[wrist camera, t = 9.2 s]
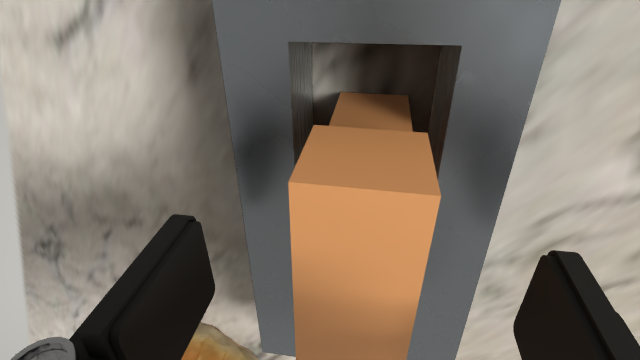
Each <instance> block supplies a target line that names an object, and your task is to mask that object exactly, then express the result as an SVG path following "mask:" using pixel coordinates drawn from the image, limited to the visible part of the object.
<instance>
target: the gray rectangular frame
mask: <svg viewBox="0 0 640 360" xmlns="http://www.w3.org/2000/svg"><path fill="white" fill-rule="evenodd" d="M560 2H561V0H212V5H213V12H214V19H215V26H216V33H217V40H218V47H219V53H220V60H221V67H222V74H223V81H224V88H225V95H226V102H227V109H228V116H229V123H230V130H231V137H232V143H233V150H234V157H235V164H236V171H237V178H238V185H239V192H240V199H241V206H242V213H243V220H244V227H245V233H246V240H247V247H248V254H249V261H250V268H251V275H252V282H253V289H254V296H255V303H256V310H257V317H258V324H259V330H260V337H261V344H262V351H263V352H266V353H273V354H280V355H287V356H294V357H296V350H295V327H294V303H293V280H292V257H291V233H290V210H289V186H288V182H289V179H290V177H291V175H292V173H293V170H294V168H295V166H296V164H297V162H298V159H299V157H300V155H301V153H302V150H303V148H304V146H305V144H306V141H307V139H308V137H309V135H310V132H311V130H312V128H313V85H312V42H327V43H371V44H416V45H441V51H440V58H439V64H438V71H437V77H436V84H435V90H434V97H433V103H432V110H431V117H430V123H429V130H428V137H429V142H430V146H431V151H432V156H433V160H434V165H435V170H436V174H437V179H438V184H439V188H440V193H441V199H440V204H439V208H438V213H437V218H436V223H435V227H434V232H433V237H432V241H431V246H430V251H429V255H428V260H427V265H426V269H425V274H424V279H423V284H422V288H421V293H420V298H419V302H418V307H417V312H416V316H415V321H414V326H413V330H412V335H411V340H410V345H409V349H408V354H407V359H406V360H455V358H456V355H457V351H458V348H459V345H460V341H461V338H462V334H463V331H464V328H465V324H466V321H467V317H468V314H469V311H470V307H471V304H472V301H473V297H474V294H475V290H476V287H477V284H478V280H479V277H480V273H481V270H482V267H483V263H484V260H485V256H486V253H487V250H488V246H489V243H490V240H491V236H492V233H493V229H494V226H495V223H496V219H497V216H498V212H499V209H500V206H501V202H502V199H503V196H504V192H505V189H506V185H507V182H508V179H509V175H510V172H511V168H512V165H513V162H514V158H515V155H516V151H517V148H518V145H519V141H520V138H521V135H522V131H523V128H524V124H525V121H526V118H527V114H528V111H529V107H530V104H531V101H532V97H533V94H534V90H535V87H536V84H537V80H538V77H539V74H540V70H541V67H542V63H543V60H544V57H545V53H546V50H547V46H548V43H549V40H550V36H551V33H552V29H553V26H554V23H555V19H556V16H557V13H558V9H559V6H560Z"/></svg>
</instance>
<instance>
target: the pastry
mask: <svg viewBox="0 0 640 360" xmlns="http://www.w3.org/2000/svg"><path fill="white" fill-rule="evenodd" d="M181 360H258V358H257V357H256V356H255V355H254V354H253V353H252V352H251V351H250V350H249V349H247V348H245V347H243V346H241V345H239V344H237V343H236V342H234V341H233V340H232V339H231V338H229V337H227V336H226V335H224V334H223V333H222V332H221V331H220V330H219V329H217V328H216V327H214V326H212V325H206V324H203V323H201V322H200V324H199V326H198V328H197V329H196V331H195V333H194V335H193V337H192V339H191V341H190V343H189V345H188V347H187V349H186V351H185V353H184V355H183V357H182V359H181Z"/></svg>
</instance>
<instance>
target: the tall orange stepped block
mask: <svg viewBox="0 0 640 360" xmlns="http://www.w3.org/2000/svg"><path fill="white" fill-rule="evenodd" d="M288 186H289V210H290V233H291V257H292V280H293V303H294V327H295V350H296V360H406V359H407V354H408V349H409V345H410V340H411V335H412V330H413V326H414V321H415V316H416V312H417V307H418V302H419V298H420V293H421V288H422V284H423V279H424V274H425V269H426V265H427V260H428V255H429V251H430V246H431V241H432V237H433V232H434V227H435V223H436V218H437V213H438V208H439V204H440V199H441V193H440V188H439V184H438V179H437V174H436V170H435V165H434V160H433V156H432V151H431V146H430V142H429V137H428V133H423V132H413V130H412V122H411V114H410V107H409V99H408V96H404V95H387V94H370V93H353V92H341V93H340V96H339V99H338V101H337V104H336V107H335V110H334V112H333V115H332V118H331V121H330V124H329V126H323V125H314V126H313V128H312V130H311V132H310V135H309V137H308V139H307V141H306V144H305V146H304V148H303V150H302V153H301V155H300V157H299V159H298V162H297V164H296V166H295V168H294V170H293V173H292V175H291V177H290V179H289V182H288Z"/></svg>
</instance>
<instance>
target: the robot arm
mask: <svg viewBox="0 0 640 360" xmlns="http://www.w3.org/2000/svg"><path fill="white" fill-rule="evenodd" d="M214 292H215V283H214V279H213V274H212V270H211V266H210V261H209V257H208V252H207V248H206V244H205V239H204V235H203V231H202V226H201V223H200V222H198V221H196V219H195V218H194V217H193V216H187V215H176V214H174V215H172V216H171V217H170V218H169V219H168V220H167V221H166V223H165V224H164V225H163V226H162V228H161V229H160V230H159V231H158V232H157V234H156V235H155V236H154V237H153V238H152V240H151V241H150V242H149V243H148V245H147V246H146V247H145V248H144V249H143V251H142V252H141V253H140V254H139V255H138V257H137V258H136V259H135V260H134V261H133V263H132V264H131V265H130V266H129V268H128V269H127V270H126V271H125V272H124V274H123V275H122V276H121V277H120V278H119V280H118V281H117V282H116V283H115V285H114V286H113V287H112V288H111V289H110V291H109V292H108V293H107V294H106V295H105V297H104V298H103V299H102V300H101V302H100V303H99V304H98V305H97V306H96V308H95V309H94V310H93V311H92V312H91V314H90V315H89V316H88V317H87V318H86V320H85V321H84V322H83V323H82V325H81V326H80V327H79V328H78V329H77V331H76V332H75V333H74V334H73V336H72V337H71V338H70V339H69V340H68V339H66V338H62V337H51V338H47V339H43V340H40V341H37V342H35V343H33V344H31V345H29V346H27V347H26V348H24V349H23V350H21V351H20V352H19V353H17V354H16V355H15V356H14V357H13V358H12V359H11V360H181V359H182V357H183V355H184V353H185V351H186V349H187V347H188V345H189V343H190V341H191V339H192V337H193V335H194V333H195V331H196V329H197V328H198V326H199V324H200V322H201V320H202V318H203V316H204V314H205V312H206V310H207V308H208V306H209V304H210V302H211V300H212V298H213V296H214ZM514 336H515V339H516V342H517V345H518V349H519V352H520V355H521V358H522V360H640V346H639V344H638V343H637V341H636V339H635V338H634V336H633V335H632V333H631V331H630V330H629V328H628V327H627V325H626V323H625V322H624V320H623V319H622V318H621V316H620V315H619V314H618V313H617V312H615V310H614V309H613V307H612V305H611V304H610V302H609V301H608V299H607V297H606V296H605V294H604V292H603V291H602V289H601V288H600V286H599V284H598V283H597V281H596V279H595V278H594V276H593V275H592V273H591V271H590V270H589V268H588V267H587V265H586V263H585V262H584V260H583V258H582V257H581V256H580V255H579V254H578V253H576V252H565V251H555V250H553V251H550V252H549V253H548V255H543V256H541V258H540V260H539V262H538V265H537V267H536V270H535V272H534V275H533V277H532V279H531V282H530V284H529V287H528V289H527V292H526V294H525V297H524V299H523V302H522V304H521V306H520V309H519V311H518V314H517V316H516V319H515V321H514Z"/></svg>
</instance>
